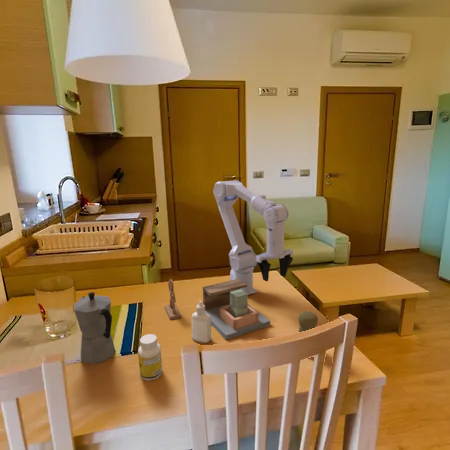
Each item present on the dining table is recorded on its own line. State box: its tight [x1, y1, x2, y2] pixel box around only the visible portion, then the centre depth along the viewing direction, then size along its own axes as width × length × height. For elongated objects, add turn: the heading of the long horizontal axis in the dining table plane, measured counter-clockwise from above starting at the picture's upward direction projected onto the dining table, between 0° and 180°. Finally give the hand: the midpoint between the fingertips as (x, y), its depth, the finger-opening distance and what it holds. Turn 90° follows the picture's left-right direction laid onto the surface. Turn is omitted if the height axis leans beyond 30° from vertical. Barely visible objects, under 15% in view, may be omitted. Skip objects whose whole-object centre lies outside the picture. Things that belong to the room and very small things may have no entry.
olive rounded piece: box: [297, 310, 319, 332], centre depth 84 cm, size 6×6×11 cm
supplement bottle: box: [137, 333, 163, 381], centre depth 75 cm, size 5×5×10 cm
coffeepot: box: [73, 291, 116, 365], centre depth 81 cm, size 15×9×18 cm, turn 49°
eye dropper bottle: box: [190, 300, 212, 344], centre depth 89 cm, size 4×6×12 cm
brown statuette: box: [164, 279, 182, 321], centre depth 104 cm, size 9×4×12 cm, turn 22°
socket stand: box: [205, 303, 271, 340], centre depth 101 cm, size 18×16×4 cm
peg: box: [230, 289, 249, 318], centre depth 97 cm, size 4×4×9 cm
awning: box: [202, 279, 247, 310], centre depth 105 cm, size 6×14×8 cm, turn 119°
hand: (274, 278), depth 108 cm, fingers open, 7 cm apart
